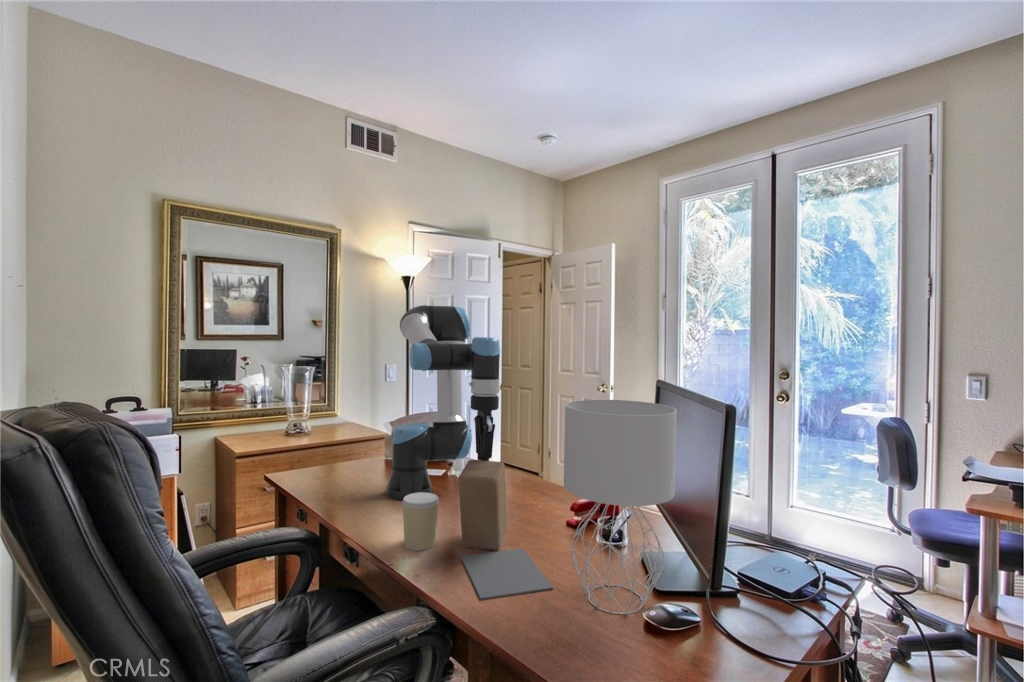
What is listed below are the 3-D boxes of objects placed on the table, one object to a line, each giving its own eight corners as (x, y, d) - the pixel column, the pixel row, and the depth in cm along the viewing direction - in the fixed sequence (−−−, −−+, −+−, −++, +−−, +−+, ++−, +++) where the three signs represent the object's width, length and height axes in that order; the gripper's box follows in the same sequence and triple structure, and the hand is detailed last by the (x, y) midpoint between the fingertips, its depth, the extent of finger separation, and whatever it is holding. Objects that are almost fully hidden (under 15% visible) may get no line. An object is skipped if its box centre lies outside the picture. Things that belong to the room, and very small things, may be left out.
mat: (460, 557, 119) (460, 555, 119) (522, 549, 124) (522, 548, 124) (480, 600, 100) (480, 598, 100) (553, 589, 105) (553, 587, 105)
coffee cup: (444, 539, 129) (445, 494, 129) (427, 554, 120) (428, 505, 120) (413, 534, 132) (414, 490, 132) (394, 548, 123) (395, 500, 123)
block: (499, 552, 122) (496, 480, 117) (461, 548, 124) (456, 477, 119) (507, 527, 132) (505, 460, 127) (472, 524, 134) (468, 457, 129)
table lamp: (561, 569, 114) (565, 398, 114) (659, 576, 112) (664, 401, 111) (560, 626, 92) (565, 412, 91) (684, 636, 89) (689, 417, 89)
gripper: (465, 392, 136) (464, 476, 137) (476, 397, 124) (475, 490, 124) (491, 391, 139) (490, 474, 139) (505, 397, 126) (503, 488, 126)
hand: (483, 482), depth 131 cm, fingers closed
